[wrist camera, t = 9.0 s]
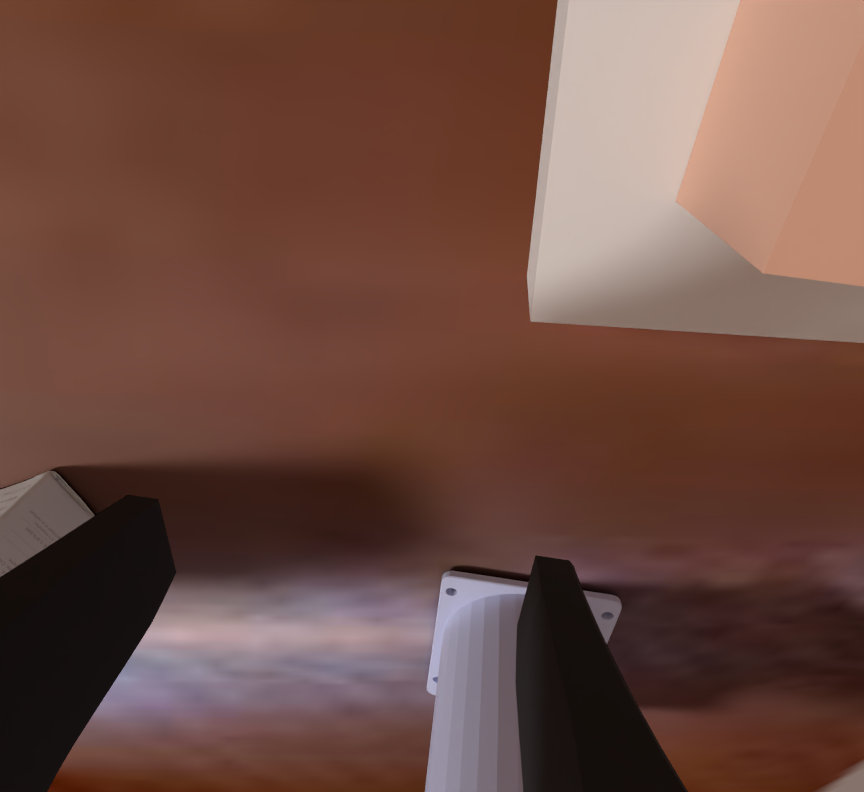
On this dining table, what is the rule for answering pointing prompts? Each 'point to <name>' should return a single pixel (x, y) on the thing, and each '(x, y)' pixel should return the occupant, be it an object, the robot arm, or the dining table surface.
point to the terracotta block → (786, 141)
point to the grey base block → (649, 187)
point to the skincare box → (36, 517)
